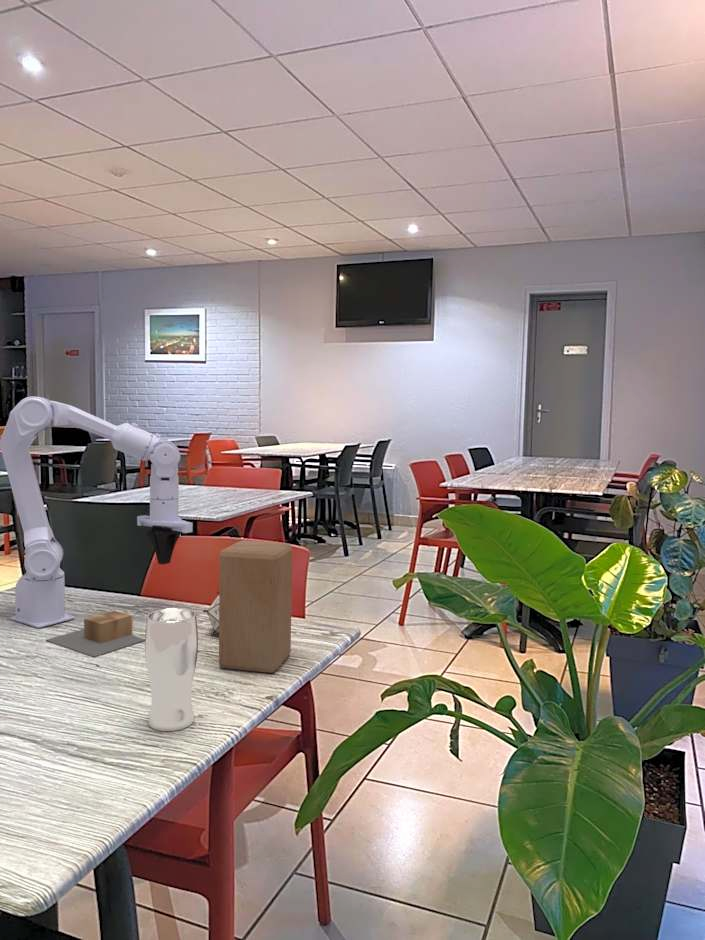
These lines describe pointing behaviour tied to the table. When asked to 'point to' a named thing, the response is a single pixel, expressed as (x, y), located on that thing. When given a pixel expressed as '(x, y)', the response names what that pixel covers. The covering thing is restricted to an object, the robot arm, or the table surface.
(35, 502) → the robot arm
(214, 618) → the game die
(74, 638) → the mat
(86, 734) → the table surface
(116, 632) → the walnut block
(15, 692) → the table surface
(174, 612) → the beer glass
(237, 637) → the block
